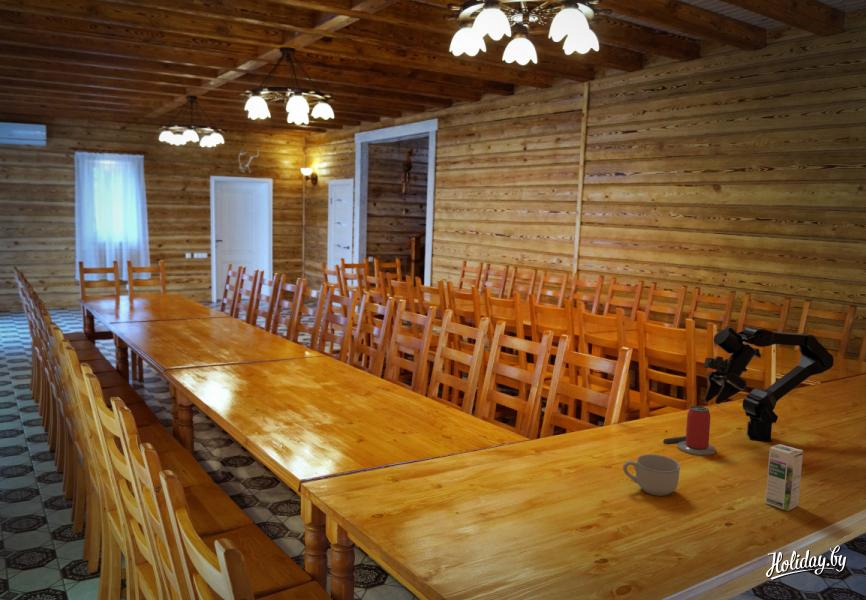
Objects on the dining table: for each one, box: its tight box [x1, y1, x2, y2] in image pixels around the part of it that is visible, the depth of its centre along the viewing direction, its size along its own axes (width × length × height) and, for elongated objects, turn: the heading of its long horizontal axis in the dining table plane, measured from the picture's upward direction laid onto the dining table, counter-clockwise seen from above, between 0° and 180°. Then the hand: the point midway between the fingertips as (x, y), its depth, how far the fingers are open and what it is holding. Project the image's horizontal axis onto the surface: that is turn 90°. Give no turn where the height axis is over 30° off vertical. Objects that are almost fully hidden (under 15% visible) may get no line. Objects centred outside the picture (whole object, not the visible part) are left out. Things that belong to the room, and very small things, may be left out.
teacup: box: [622, 453, 681, 497], centre depth 172 cm, size 14×11×8 cm
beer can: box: [685, 405, 711, 449], centre depth 203 cm, size 7×7×12 cm
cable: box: [662, 435, 686, 445], centre depth 211 cm, size 11×2×2 cm, turn 111°
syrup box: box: [764, 443, 804, 512], centre depth 163 cm, size 6×6×14 cm
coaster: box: [676, 441, 717, 456], centre depth 204 cm, size 11×11×1 cm
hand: (711, 402), depth 210 cm, fingers open, 9 cm apart
